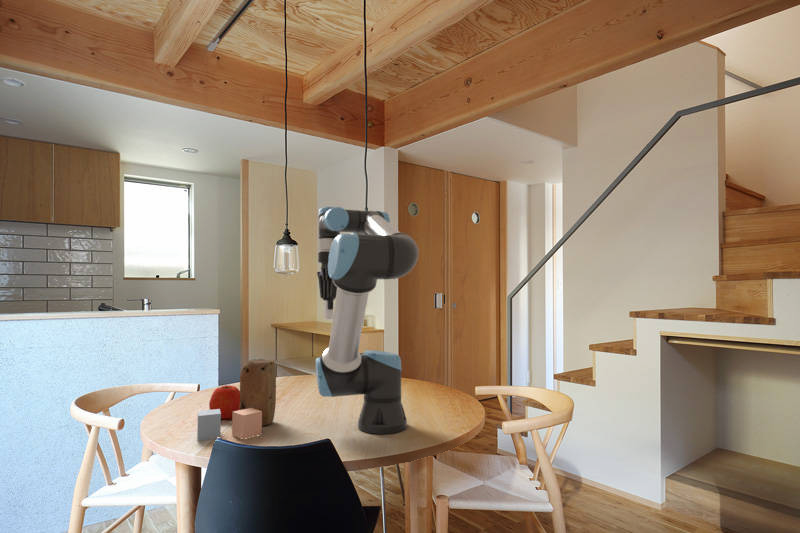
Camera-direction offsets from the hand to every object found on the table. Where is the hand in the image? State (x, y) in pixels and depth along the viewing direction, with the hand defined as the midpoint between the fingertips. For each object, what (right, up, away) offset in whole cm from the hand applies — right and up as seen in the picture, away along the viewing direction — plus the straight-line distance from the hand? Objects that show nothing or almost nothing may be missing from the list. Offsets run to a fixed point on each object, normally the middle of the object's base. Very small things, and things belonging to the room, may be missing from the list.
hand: (328, 318), depth 163 cm
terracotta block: (-20, -31, -27) cm, 45 cm away
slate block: (-31, -31, -27) cm, 52 cm away
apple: (-33, -32, -7) cm, 47 cm away
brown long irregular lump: (-21, -32, -14) cm, 41 cm away
